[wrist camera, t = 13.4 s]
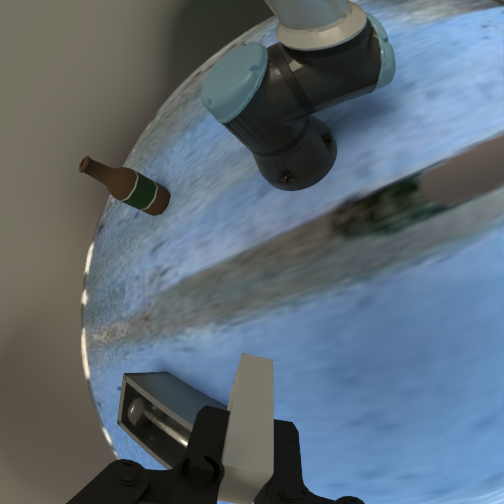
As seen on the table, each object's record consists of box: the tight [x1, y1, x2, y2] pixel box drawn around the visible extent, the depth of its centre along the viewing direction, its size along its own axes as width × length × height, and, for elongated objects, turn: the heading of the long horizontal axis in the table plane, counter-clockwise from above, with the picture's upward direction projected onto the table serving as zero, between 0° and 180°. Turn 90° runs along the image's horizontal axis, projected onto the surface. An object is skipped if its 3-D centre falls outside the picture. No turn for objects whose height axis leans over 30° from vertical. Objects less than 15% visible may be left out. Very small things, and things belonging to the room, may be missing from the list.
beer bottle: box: [79, 156, 170, 216], centre depth 58 cm, size 8×8×24 cm
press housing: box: [117, 372, 227, 470], centre depth 42 cm, size 20×12×11 cm, turn 74°
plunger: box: [128, 395, 190, 447], centre depth 38 cm, size 18×8×8 cm, turn 74°
